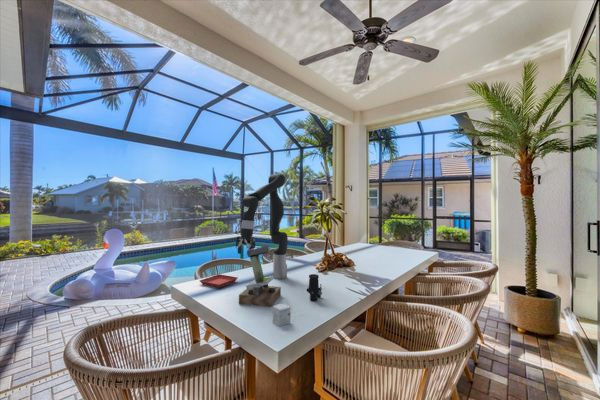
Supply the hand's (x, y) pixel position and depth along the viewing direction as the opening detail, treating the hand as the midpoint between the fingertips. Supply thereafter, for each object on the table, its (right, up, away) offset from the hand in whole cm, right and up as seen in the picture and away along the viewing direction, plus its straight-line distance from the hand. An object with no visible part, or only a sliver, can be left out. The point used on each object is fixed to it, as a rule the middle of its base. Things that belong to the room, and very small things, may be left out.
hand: (244, 254), depth 162 cm
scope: (+42, -23, -14) cm, 50 cm away
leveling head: (+14, -15, -15) cm, 25 cm away
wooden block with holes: (+12, -22, -15) cm, 29 cm away
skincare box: (+26, -22, -43) cm, 55 cm away
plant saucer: (-20, -23, +15) cm, 34 cm away
